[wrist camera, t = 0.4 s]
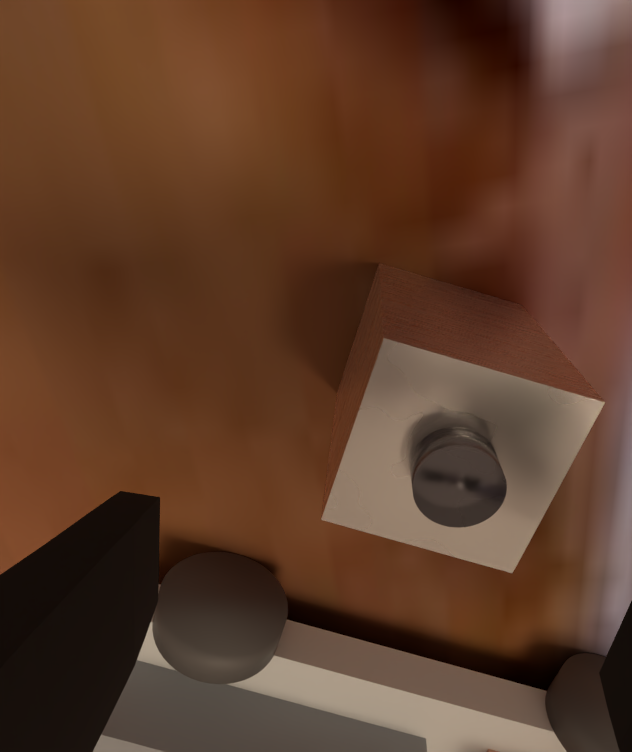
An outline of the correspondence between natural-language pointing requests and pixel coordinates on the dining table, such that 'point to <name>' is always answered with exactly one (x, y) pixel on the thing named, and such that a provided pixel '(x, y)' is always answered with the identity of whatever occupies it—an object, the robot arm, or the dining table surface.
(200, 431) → the dining table surface
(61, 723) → the robot arm
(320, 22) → the dining table surface
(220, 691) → the chassis
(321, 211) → the dining table surface
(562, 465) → the block
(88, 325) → the dining table surface
